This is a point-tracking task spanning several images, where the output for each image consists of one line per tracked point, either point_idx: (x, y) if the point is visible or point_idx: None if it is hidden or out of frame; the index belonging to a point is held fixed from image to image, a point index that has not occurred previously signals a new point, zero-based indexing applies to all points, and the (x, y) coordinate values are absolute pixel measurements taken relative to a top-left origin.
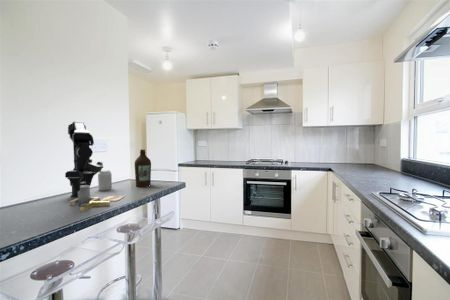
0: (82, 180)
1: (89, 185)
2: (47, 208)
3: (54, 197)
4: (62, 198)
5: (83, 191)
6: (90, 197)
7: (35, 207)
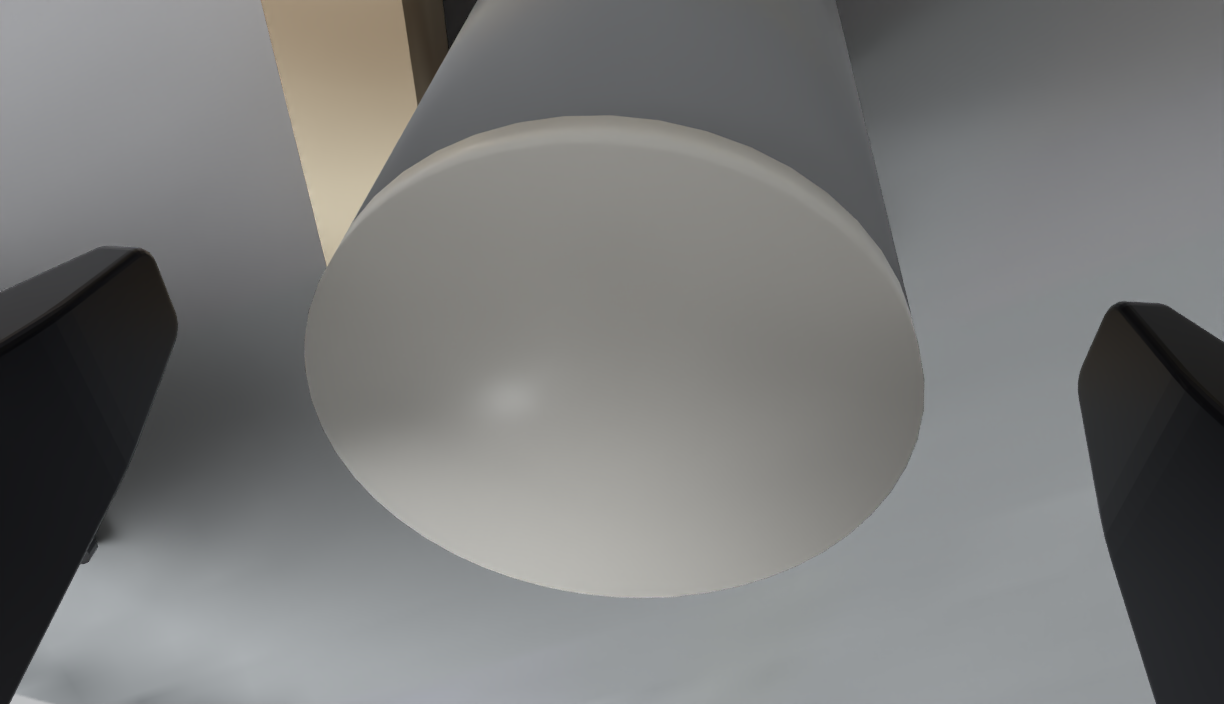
0: None
1: (448, 177)
2: (888, 555)
3: (206, 694)
4: (232, 599)
5: (877, 183)
6: (319, 4)
7: (773, 690)
